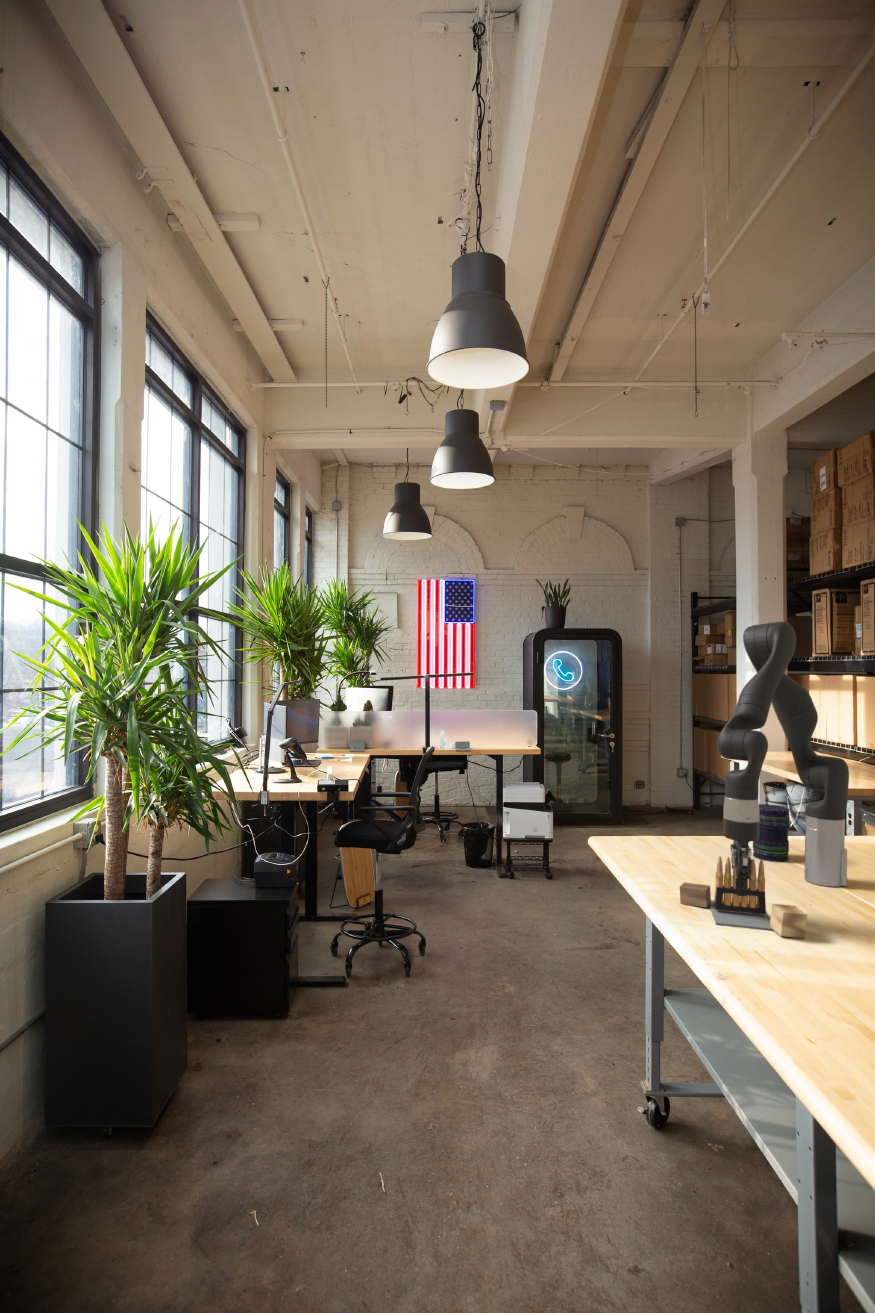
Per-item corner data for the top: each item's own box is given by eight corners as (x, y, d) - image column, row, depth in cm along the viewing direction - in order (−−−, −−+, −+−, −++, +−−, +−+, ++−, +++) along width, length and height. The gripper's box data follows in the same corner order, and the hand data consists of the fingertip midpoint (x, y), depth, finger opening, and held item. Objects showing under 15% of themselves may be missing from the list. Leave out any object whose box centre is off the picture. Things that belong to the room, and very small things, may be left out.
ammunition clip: (764, 912, 160) (765, 858, 160) (766, 914, 158) (766, 861, 158) (714, 907, 163) (714, 854, 163) (715, 909, 161) (715, 856, 161)
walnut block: (685, 899, 171) (684, 882, 171) (710, 902, 167) (710, 885, 168) (680, 903, 167) (679, 886, 168) (706, 907, 164) (705, 890, 164)
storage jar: (745, 855, 214) (745, 805, 214) (768, 852, 218) (768, 803, 218) (773, 863, 204) (773, 811, 205) (796, 860, 209) (797, 809, 209)
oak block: (792, 929, 152) (795, 906, 152) (804, 938, 147) (807, 914, 147) (769, 926, 152) (772, 903, 152) (780, 936, 147) (783, 912, 147)
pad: (761, 906, 167) (761, 905, 167) (775, 931, 151) (776, 929, 151) (707, 901, 170) (707, 899, 170) (716, 924, 154) (716, 922, 154)
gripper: (765, 825, 153) (763, 905, 153) (753, 812, 166) (752, 886, 166) (727, 822, 155) (726, 901, 155) (719, 810, 168) (718, 883, 168)
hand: (740, 893), depth 160 cm, fingers closed on ammunition clip, 2 cm apart
